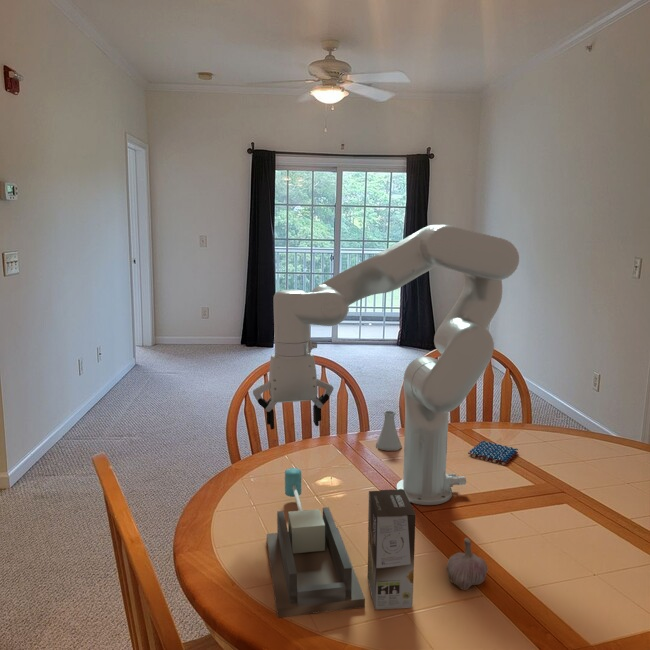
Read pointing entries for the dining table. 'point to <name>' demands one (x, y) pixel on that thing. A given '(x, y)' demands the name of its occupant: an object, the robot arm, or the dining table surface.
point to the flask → (389, 434)
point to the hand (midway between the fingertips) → (294, 425)
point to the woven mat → (493, 452)
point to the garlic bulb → (466, 568)
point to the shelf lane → (312, 573)
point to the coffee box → (391, 549)
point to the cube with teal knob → (303, 519)
